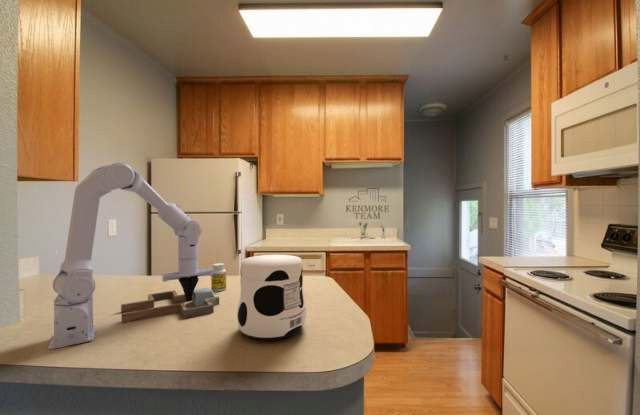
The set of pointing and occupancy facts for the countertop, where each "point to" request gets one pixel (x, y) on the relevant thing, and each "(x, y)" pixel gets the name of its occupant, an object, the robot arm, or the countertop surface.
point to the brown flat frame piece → (166, 307)
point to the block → (201, 296)
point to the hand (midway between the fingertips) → (188, 300)
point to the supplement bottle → (218, 277)
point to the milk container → (271, 297)
